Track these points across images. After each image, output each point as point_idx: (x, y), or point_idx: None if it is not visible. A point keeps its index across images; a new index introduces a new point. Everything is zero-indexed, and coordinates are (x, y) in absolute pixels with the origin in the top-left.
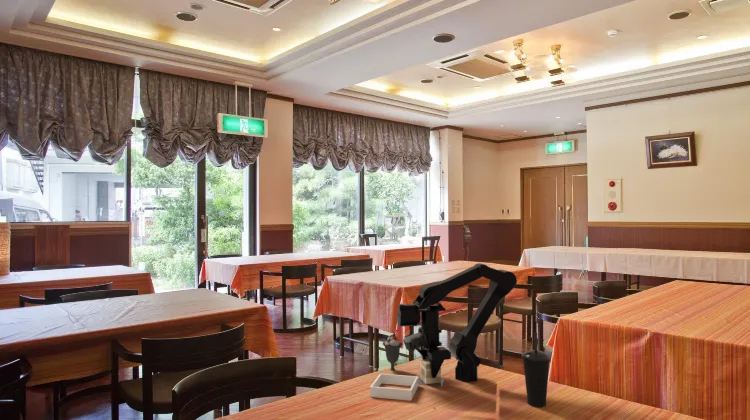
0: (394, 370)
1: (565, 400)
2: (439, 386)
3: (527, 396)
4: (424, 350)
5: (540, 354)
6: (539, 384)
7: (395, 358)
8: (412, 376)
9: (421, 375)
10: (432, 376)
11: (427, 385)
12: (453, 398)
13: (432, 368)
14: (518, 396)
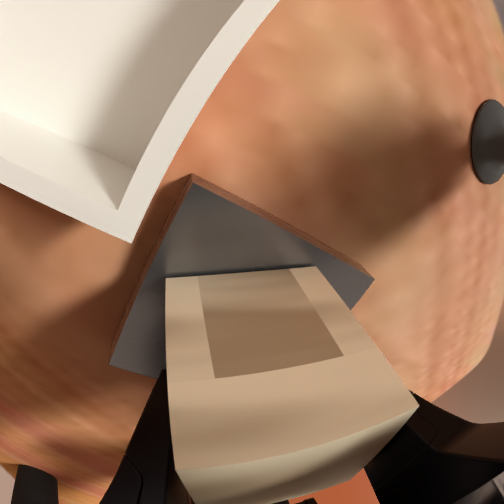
0: (502, 152)
1: (73, 496)
2: (112, 353)
3: (28, 482)
4: (452, 501)
5: None
6: None
7: None
8: (151, 150)
9: (302, 293)
10: (157, 379)
11: (143, 283)
12: (5, 352)
13: (127, 458)
14: (79, 476)
